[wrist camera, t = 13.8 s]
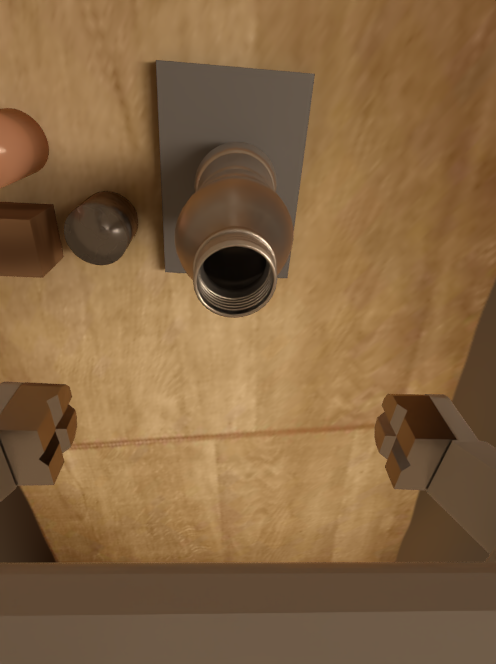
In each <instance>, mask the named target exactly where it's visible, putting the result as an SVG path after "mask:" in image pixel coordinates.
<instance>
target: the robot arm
mask: <svg viewBox="0 0 496 664" xmlns="http://www.w3.org/2000/svg"><path fill="white" fill-rule="evenodd" d="M71 398H72V394H71V390H70V387H69V386H68V385H66V384H47V383H28V382H25V383H20V382H3V383H1V384H0V502H1V501H2V500H3V499H4V498H5V497H6V496H8V495H9V494H10V493H11V492H12V491H13V490H14V489H16V485H54V484H55V482H56V479H57V477H58V475H59V473H60V470H61V468H62V466H63V464H64V458H63V454H62V453H63V452H65V451H66V450H68V449H69V448H70V447H71V446H72V443H73V441H74V438H75V434H76V429H77V416H76V411H75V409H74V408H72V407H71V406H70V405H69V402H70V400H71ZM382 407H383V409H384V411H385V412H384V413H383V414H381V415H380V416H379V417H377V421H376V424H375V442H376V446H377V448H378V451H379V453H380V454H381V455H383V456H384V457H385V458H386V459H387V462H386V465H385V468H386V471H387V473H388V476H389V478H390V481H391V483H392V486H393V488H394V489H408V490H427V493H428V494H429V495H430V496H431V497H432V498H433V499H434V500H435V501H436V502H437V503H438V504H439V505H440V506H441V507H443V509H444V510H446V512H447V513H448V514H449V515H451V517H452V518H453V519H454V520H455V521H457V523H458V524H460V525H461V526H462V527H463V528H464V529H465V530H466V531H467V532H468V533H469V534H470V535H471V536H472V537H473V538H474V539H475V540H476V541H477V542H478V543H479V544H480V545H481V546H482V547H483V548H484V549H485V550H486V551H487V552H488V553H489V554H490V555H489V556H488V558H487V559H486V560H485V562H288V563H0V664H496V448H495V447H493V446H492V445H490V444H488V443H487V442H485V441H479V440H478V439H477V437H476V436H475V435H474V433H473V432H472V430H471V429H470V428H469V426H468V425H467V423H466V422H465V420H464V419H463V418H462V416H461V415H460V413H459V412H458V410H457V409H456V407H455V406H454V405H453V403H452V402H451V400H450V399H449V398H448V397H447V396H445V395H437V394H425V395H414V394H387V395H386V397H385V398H384V400H383V403H382Z"/></svg>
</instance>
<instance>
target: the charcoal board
mask: <svg viewBox="0 0 496 664" xmlns="http://www.w3.org/2000/svg"><path fill="white" fill-rule="evenodd" d="M156 73H157V95H158V118H159V141H160V163H161V186H162V208H163V231H164V253H165V272H173V273H186V271H185V270H184V268H183V266H182V264H181V262H180V259H179V257H178V255H177V252H176V246H175V228H176V223H177V219H178V217H179V215H180V213H181V211H182V208H183V207H184V206H185V204H186V203H187V201H188V200H189V199H190V197H191V196H192V195H193V194H194V193H195V189H194V183H195V176H196V171H197V169H198V167H199V165H200V163H201V161H202V160H203V158H204V157H205V156H206V155H207V154H208V153H209V152H210V151H211V150H213V149H214V148H216V147H218V146H219V145H222V144H225V143H229V142H245V143H248V144H251V145H253V146H255V147H257V148H259V149H260V150H261V151H262V152H264V153H265V154H266V155H267V157H268V158H269V159H270V161H271V163H272V165H273V167H274V169H275V173H276V181H277V187H276V193H277V194H278V196H279V197H280V198H281V200H282V201H283V202H284V204H285V206H286V207H287V210H288V212H289V214H290V216H291V220H292V224H293V232H294V224H295V217H296V210H297V202H298V195H299V187H300V180H301V173H302V165H303V158H304V150H305V143H306V135H307V128H308V121H309V113H310V106H311V98H312V91H313V84H314V76H315V74H310V73H299V72H287V71H276V70H264V69H253V68H241V67H230V66H219V65H207V64H196V63H184V62H173V61H161V60H156ZM290 254H291V252H290ZM290 254H289V257H288V259H287V261H286V263H285V265H284V267H283V268H282V270H281V271H280V273H279V274H278V275H277V278H287V276H288V269H289V262H290Z"/></svg>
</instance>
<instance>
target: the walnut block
mask: <svg viewBox="0 0 496 664" xmlns="http://www.w3.org/2000/svg"><path fill="white" fill-rule="evenodd" d="M63 257H64V256H63V251H62V246H61V241H60V236H59V231H58V226H57V221H56V216H55V211H54V206H53V204H33V203H13V202H0V276H17V277H44V276H45V275H46V274H47V273H48V272H49V271H50V270H51V269H52V268H53V267H54V266H55V265H56V264H57V263H58V262H59V261H60V260H61V259H62V258H63Z"/></svg>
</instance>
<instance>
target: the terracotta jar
mask: <svg viewBox="0 0 496 664" xmlns="http://www.w3.org/2000/svg"><path fill="white" fill-rule="evenodd" d="M48 155H49V146H48V141H47V138H46V136H45V134H44V132H43V130H42V129H41V127H40V126H39V124H38V123H37V122H36V121H35V120H34V119H33V118H31V117H30V116H29V115H27V114H26V113H24V112H22V111H19V110H16V109H12V108H4V109H0V188H2V187H4V186H7V185H9V184H11V183H13V182H15V181H18V180H20V179H22V178H24V177H27V176H29V175H31V174H33V173H36V172H38V171H39V170H41V169H42V168H43V167H44V165H45V164H46V162H47V159H48Z"/></svg>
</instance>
